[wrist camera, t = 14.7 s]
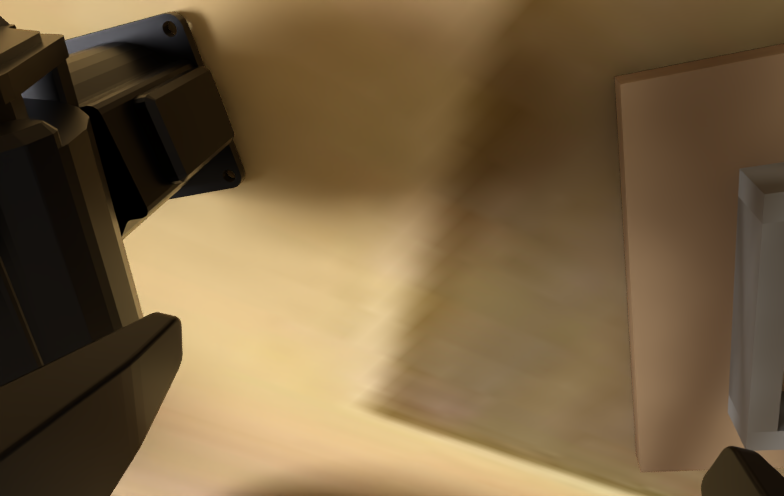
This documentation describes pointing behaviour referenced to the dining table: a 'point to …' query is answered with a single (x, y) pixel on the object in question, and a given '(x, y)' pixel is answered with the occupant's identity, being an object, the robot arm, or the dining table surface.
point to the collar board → (705, 256)
